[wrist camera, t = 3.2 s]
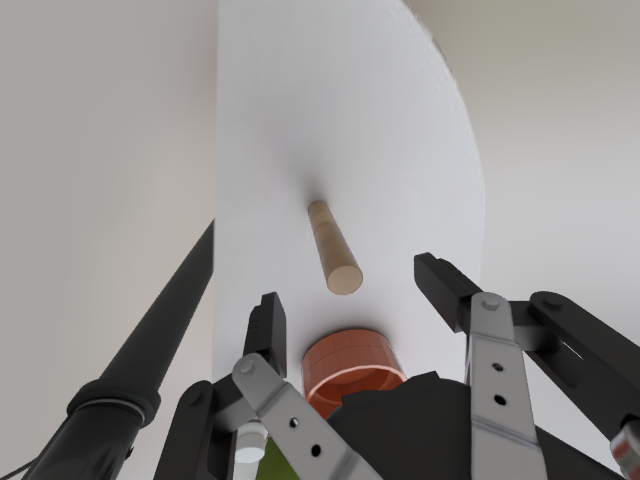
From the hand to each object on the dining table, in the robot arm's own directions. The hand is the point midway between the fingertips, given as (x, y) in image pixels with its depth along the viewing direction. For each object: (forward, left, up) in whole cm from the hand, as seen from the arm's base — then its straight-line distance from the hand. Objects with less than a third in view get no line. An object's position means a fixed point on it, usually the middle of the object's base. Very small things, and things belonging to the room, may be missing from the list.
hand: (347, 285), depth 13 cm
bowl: (-1, -25, -13) cm, 28 cm away
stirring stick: (0, 0, -13) cm, 13 cm away
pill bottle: (-16, -26, -13) cm, 33 cm away
